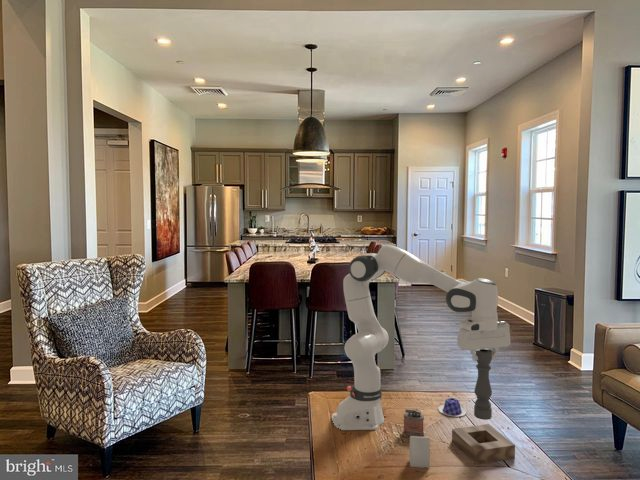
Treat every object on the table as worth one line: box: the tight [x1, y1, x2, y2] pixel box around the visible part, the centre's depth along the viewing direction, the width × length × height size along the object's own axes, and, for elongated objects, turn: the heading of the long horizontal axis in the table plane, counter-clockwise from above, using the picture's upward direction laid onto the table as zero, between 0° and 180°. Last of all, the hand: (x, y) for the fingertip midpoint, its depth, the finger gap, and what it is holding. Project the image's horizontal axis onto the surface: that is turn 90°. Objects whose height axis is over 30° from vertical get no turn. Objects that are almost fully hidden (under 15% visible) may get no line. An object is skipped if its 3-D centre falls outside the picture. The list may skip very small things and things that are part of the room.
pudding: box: [438, 397, 467, 418], centre depth 197 cm, size 12×12×5 cm
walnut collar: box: [451, 423, 516, 465], centre depth 166 cm, size 16×16×5 cm
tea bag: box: [409, 435, 431, 469], centre depth 157 cm, size 4×7×10 cm, turn 81°
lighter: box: [402, 408, 425, 437], centre depth 178 cm, size 8×3×10 cm, turn 71°
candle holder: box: [473, 348, 493, 421], centre depth 164 cm, size 6×6×25 cm
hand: (483, 359), depth 164 cm, fingers closed on candle holder, 5 cm apart
